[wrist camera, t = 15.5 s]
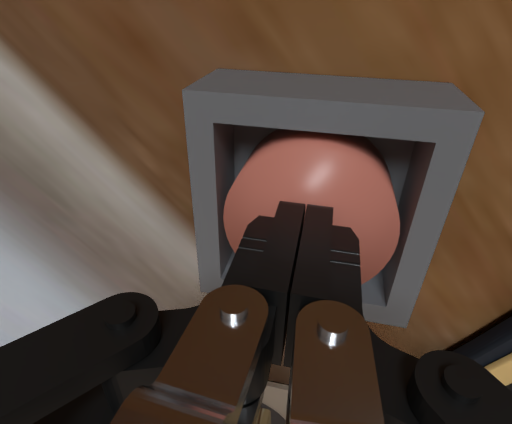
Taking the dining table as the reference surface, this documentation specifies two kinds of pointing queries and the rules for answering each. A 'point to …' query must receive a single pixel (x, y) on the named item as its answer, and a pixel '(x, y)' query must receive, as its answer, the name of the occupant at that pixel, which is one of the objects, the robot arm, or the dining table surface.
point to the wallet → (493, 351)
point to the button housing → (337, 122)
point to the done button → (320, 189)
